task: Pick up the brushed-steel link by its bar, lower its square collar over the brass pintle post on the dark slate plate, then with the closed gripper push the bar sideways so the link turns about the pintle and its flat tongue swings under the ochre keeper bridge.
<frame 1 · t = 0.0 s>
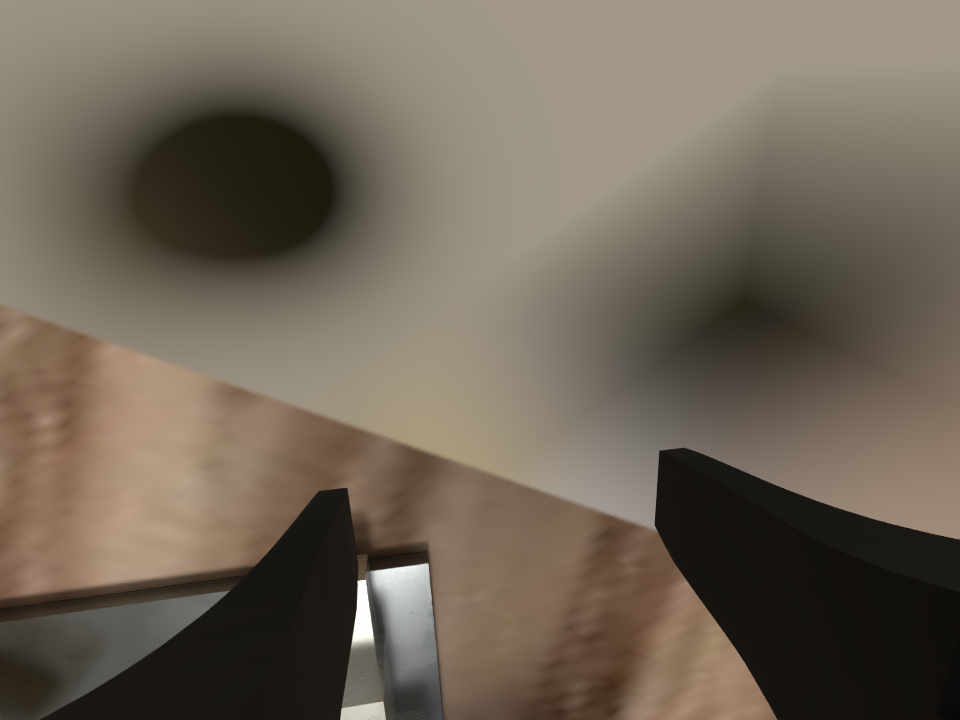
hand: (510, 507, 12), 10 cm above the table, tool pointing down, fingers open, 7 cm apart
link: (337, 599, 24), point 1 cm above the table, touching plate
plate: (191, 717, 25), on the table
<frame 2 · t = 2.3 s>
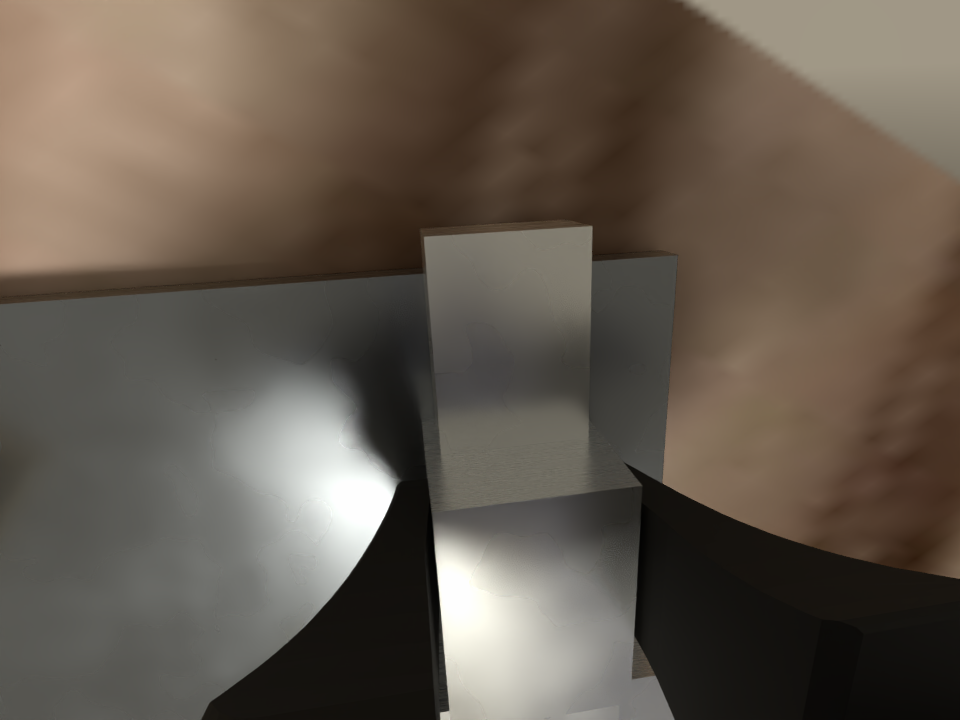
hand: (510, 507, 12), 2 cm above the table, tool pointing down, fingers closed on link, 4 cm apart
link: (497, 324, 12), point 1 cm above the table, touching gripper, plate
plate: (203, 583, 14), on the table
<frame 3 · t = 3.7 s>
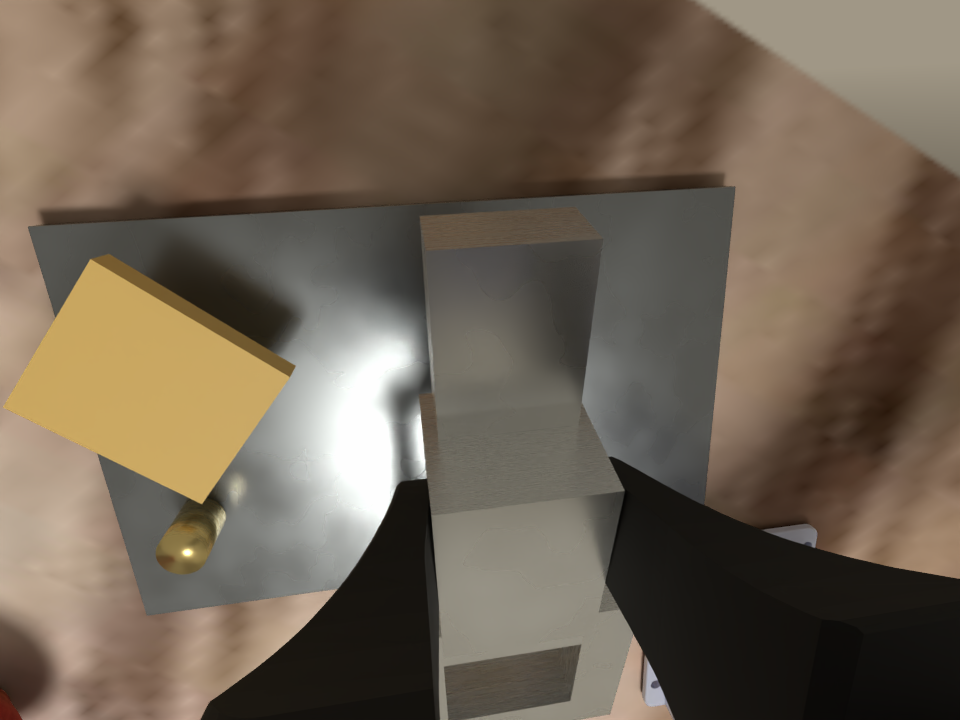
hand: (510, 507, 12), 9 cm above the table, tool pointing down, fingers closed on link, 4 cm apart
link: (497, 308, 12), point 8 cm above the table, tilted 16°, touching gripper
keeper: (190, 357, 19), resting on plate
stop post: (203, 516, 20), resting on plate
plate: (426, 402, 21), on the table
when the fingers open (3 cm above the table, at t = 5.2 s): link stays where it is, resting on plate.
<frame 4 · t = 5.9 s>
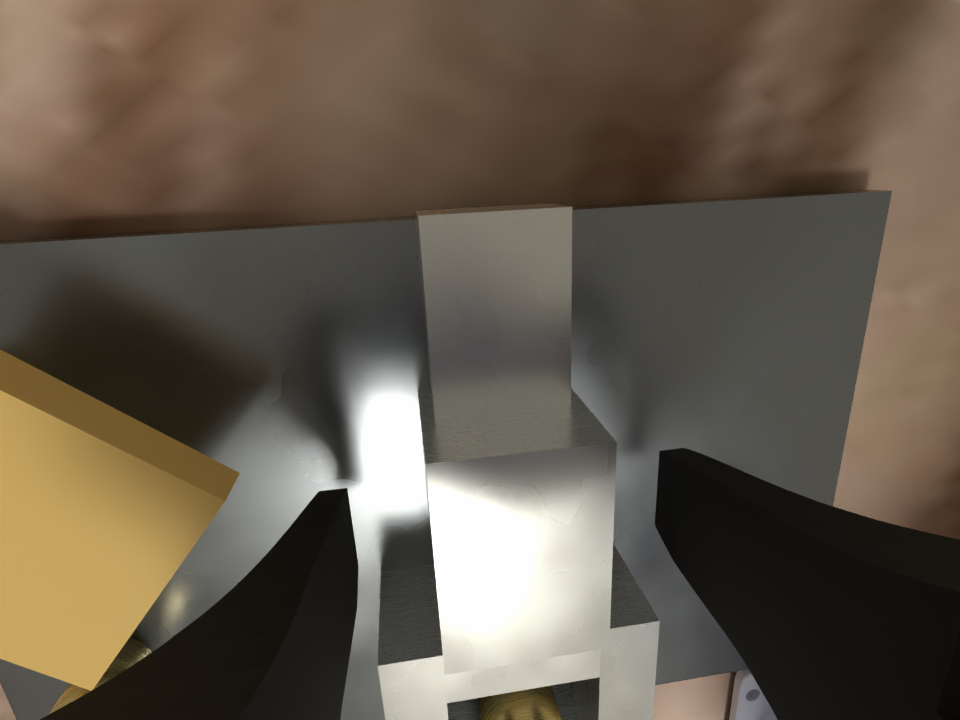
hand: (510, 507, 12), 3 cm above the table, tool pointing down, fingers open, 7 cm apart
link: (487, 300, 13), point 1 cm above the table, touching plate
keeper: (89, 445, 12), resting on plate
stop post: (121, 661, 14), resting on plate
plate: (438, 494, 15), on the table
pintle: (503, 648, 16), resting on plate
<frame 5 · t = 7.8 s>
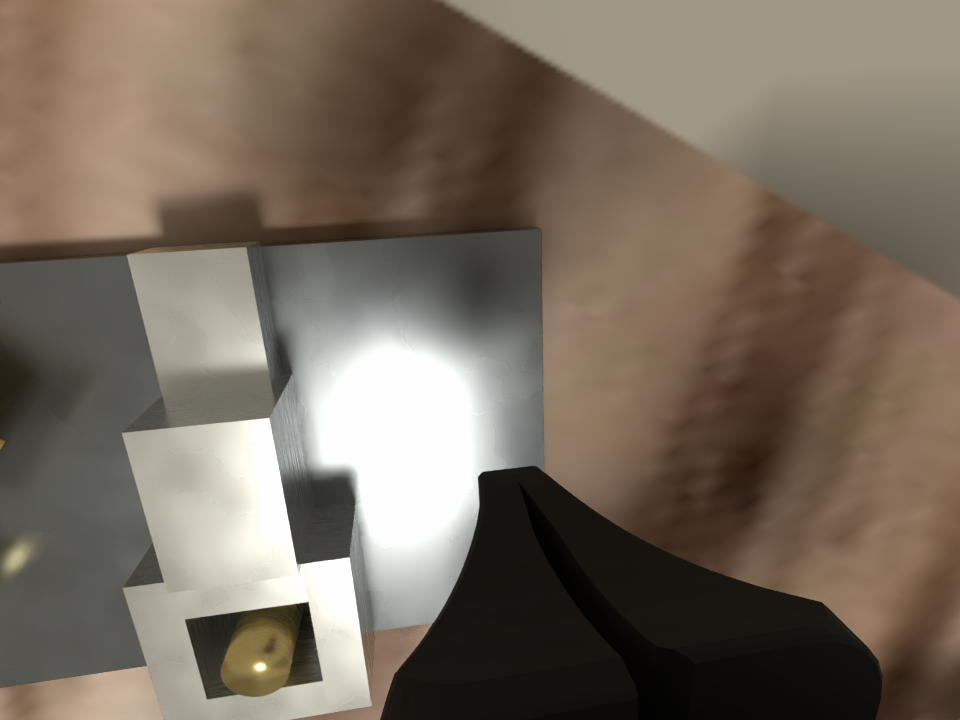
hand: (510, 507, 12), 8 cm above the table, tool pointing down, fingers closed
link: (220, 314, 17), point 1 cm above the table, touching plate
plate: (214, 466, 19), on the table
pintle: (278, 590, 20), resting on plate
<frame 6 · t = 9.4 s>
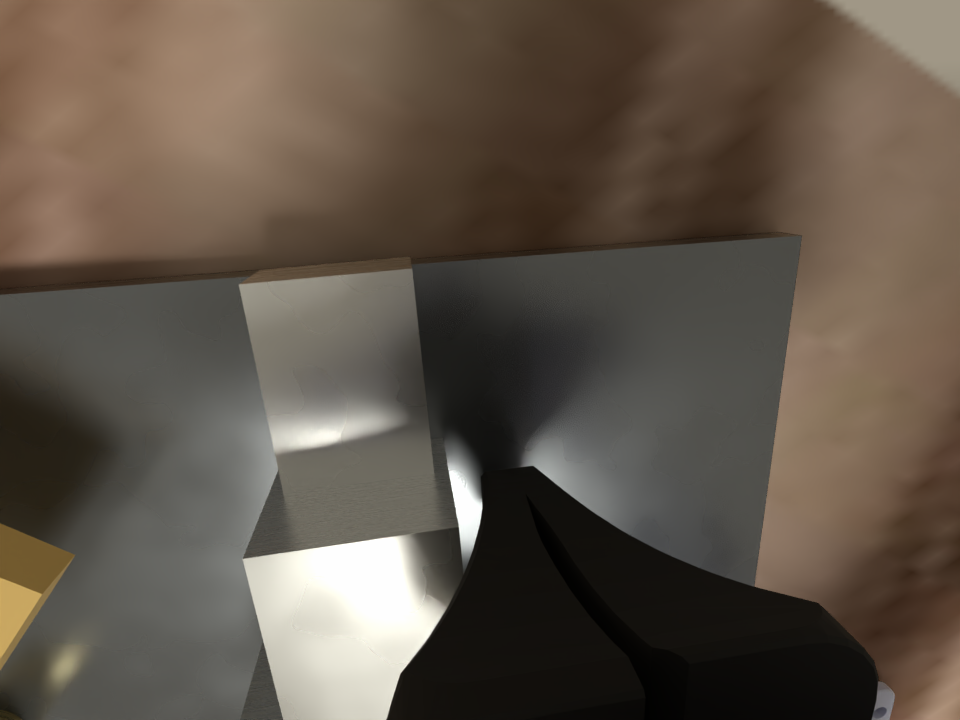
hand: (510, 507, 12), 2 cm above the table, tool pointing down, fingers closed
link: (351, 360, 12), point 1 cm above the table, touching gripper
plate: (334, 552, 14), on the table
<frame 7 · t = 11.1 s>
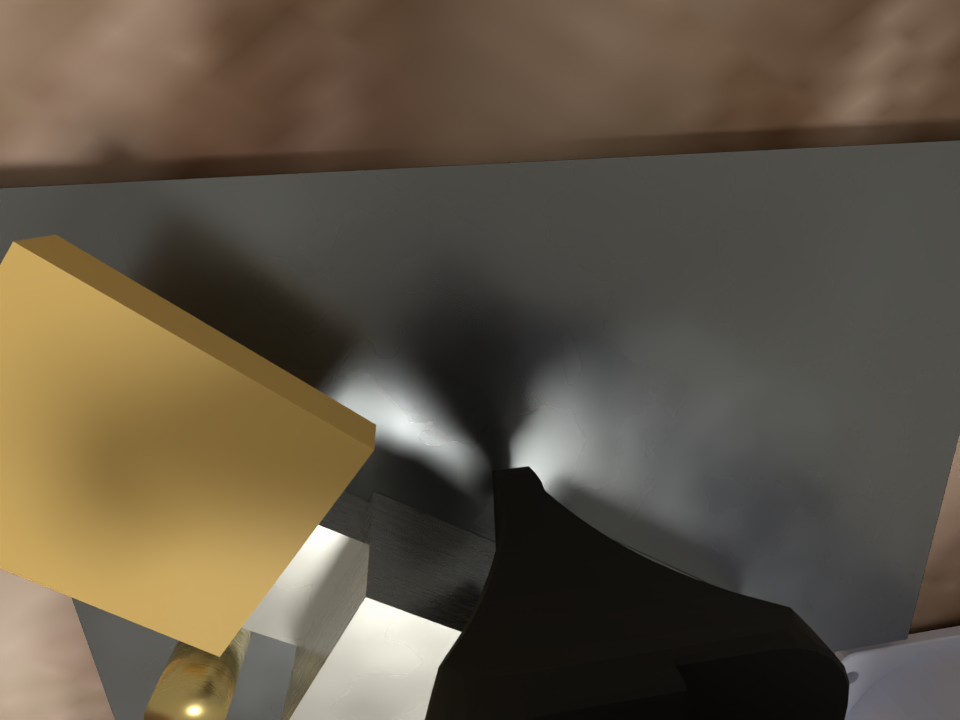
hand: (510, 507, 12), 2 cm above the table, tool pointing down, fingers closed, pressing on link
link: (255, 517, 13), point 1 cm above the table, touching gripper, pintle, plate
keeper: (199, 402, 12), resting on plate
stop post: (217, 635, 14), resting on plate
plate: (544, 461, 14), on the table
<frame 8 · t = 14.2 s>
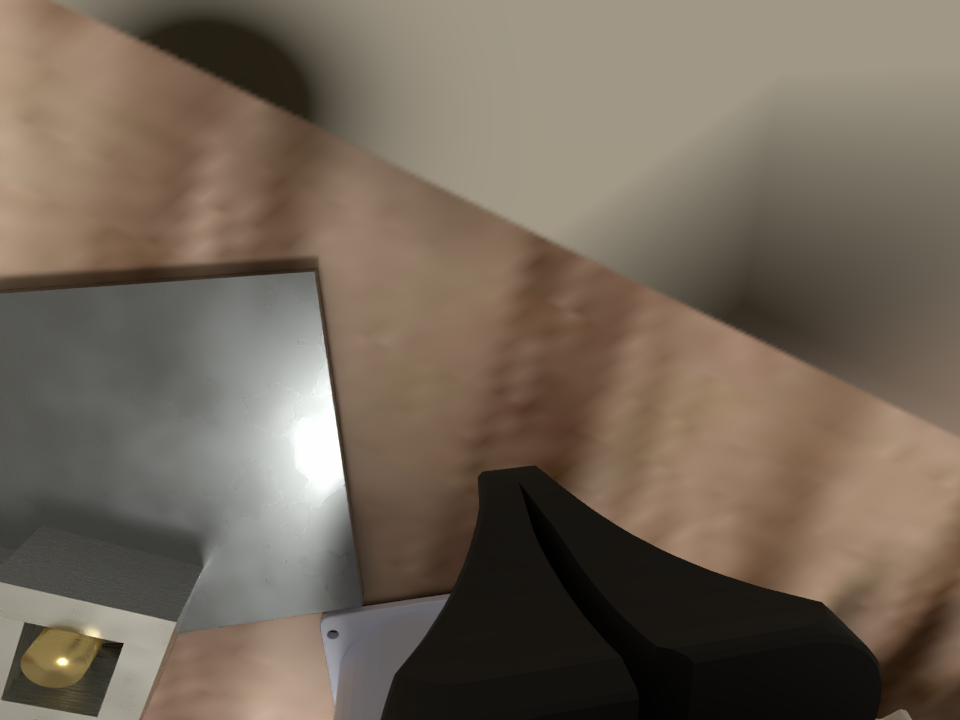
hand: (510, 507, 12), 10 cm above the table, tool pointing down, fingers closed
plate: (38, 481, 21), on the table
pintle: (104, 593, 22), resting on plate
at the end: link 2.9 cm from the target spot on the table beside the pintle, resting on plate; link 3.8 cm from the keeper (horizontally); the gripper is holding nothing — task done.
